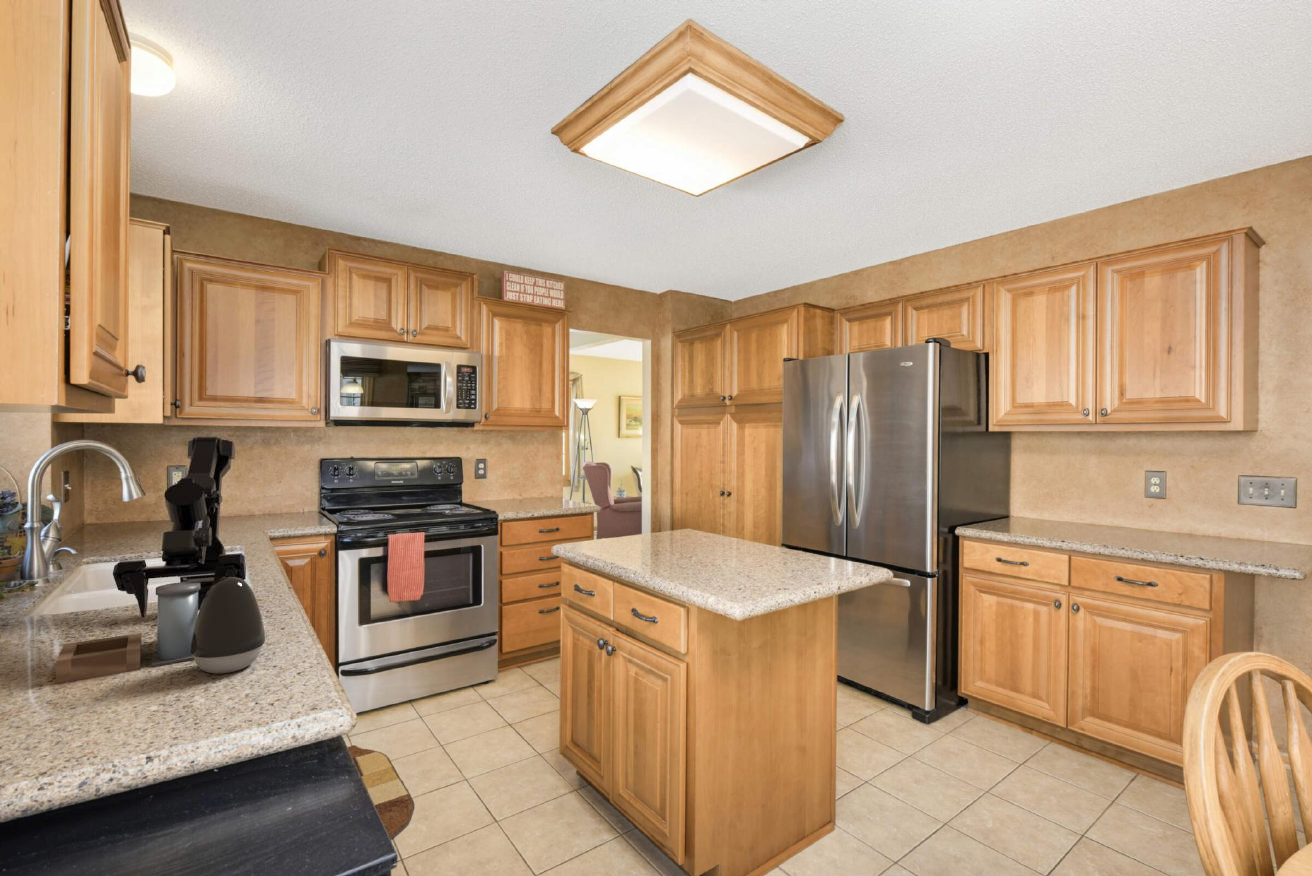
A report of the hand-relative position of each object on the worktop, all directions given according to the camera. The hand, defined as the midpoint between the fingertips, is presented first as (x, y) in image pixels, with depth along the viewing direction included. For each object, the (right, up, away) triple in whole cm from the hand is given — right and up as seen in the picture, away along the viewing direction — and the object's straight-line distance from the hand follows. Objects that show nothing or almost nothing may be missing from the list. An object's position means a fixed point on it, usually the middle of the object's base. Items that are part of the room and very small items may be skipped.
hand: (176, 612), depth 107 cm
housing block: (-9, -8, -4) cm, 13 cm away
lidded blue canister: (-1, -8, +1) cm, 8 cm away
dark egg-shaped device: (+12, -8, -4) cm, 15 cm away
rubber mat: (-1, -8, +1) cm, 8 cm away
